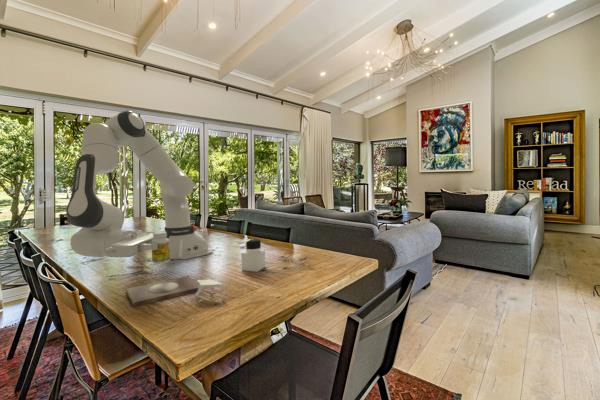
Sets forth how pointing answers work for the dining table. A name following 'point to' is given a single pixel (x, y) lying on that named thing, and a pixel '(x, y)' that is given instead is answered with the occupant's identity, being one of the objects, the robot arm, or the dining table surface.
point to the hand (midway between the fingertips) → (163, 244)
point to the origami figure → (208, 284)
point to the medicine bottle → (253, 256)
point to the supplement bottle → (161, 248)
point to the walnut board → (161, 290)
